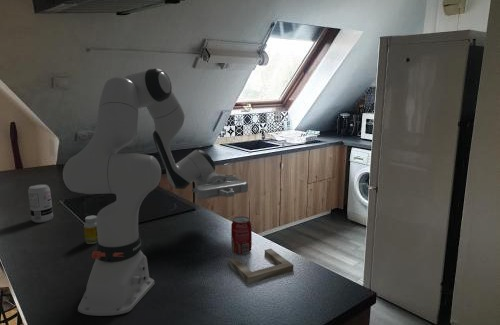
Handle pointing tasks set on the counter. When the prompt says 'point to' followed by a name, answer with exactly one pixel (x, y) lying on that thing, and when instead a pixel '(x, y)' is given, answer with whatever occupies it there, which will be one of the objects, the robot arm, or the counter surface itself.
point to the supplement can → (40, 203)
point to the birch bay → (250, 277)
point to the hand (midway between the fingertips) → (230, 194)
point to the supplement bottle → (90, 230)
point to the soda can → (241, 235)
